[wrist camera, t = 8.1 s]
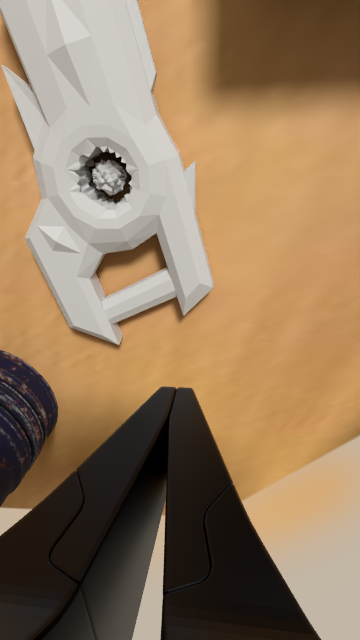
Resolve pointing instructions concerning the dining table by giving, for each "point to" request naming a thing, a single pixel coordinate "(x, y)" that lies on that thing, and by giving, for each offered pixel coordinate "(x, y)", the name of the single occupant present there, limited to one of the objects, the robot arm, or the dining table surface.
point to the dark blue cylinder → (22, 419)
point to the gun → (88, 142)
